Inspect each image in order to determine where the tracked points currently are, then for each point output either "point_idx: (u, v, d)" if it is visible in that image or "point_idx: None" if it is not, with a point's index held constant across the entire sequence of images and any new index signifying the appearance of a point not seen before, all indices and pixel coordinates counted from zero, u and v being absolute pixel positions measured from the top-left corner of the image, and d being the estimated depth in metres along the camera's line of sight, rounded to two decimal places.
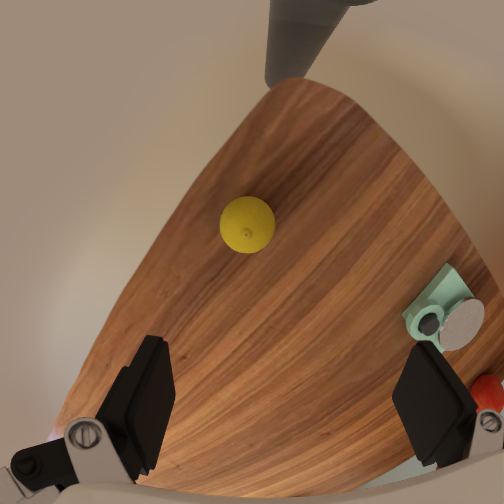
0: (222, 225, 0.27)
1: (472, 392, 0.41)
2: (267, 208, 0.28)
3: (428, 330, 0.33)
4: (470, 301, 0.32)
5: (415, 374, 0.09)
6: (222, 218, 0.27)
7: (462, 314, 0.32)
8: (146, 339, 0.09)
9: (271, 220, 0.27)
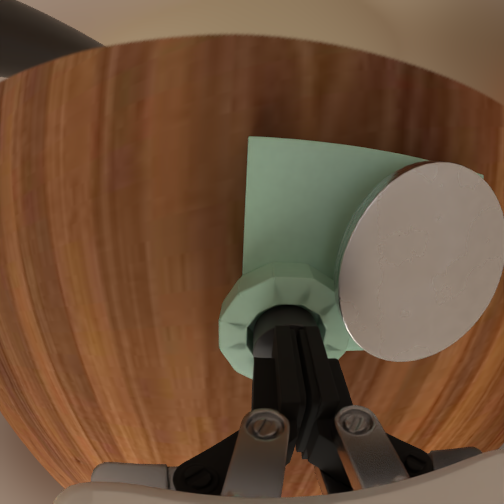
0: None
1: None
2: None
3: None
4: (397, 187, 0.09)
5: None
6: None
7: (400, 248, 0.10)
8: (278, 328, 0.10)
9: None
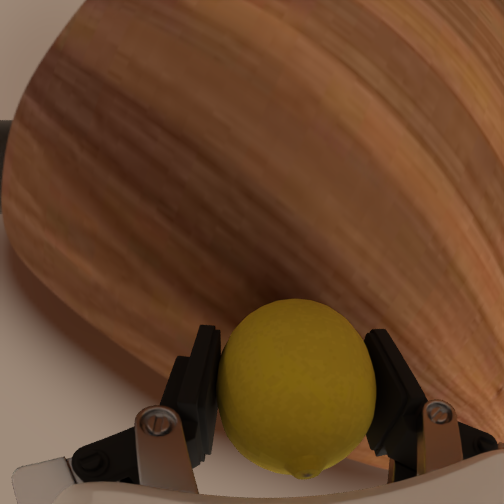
0: None
1: None
2: (242, 358, 0.08)
3: None
4: None
5: None
6: None
7: None
8: (201, 328, 0.10)
9: (277, 367, 0.07)
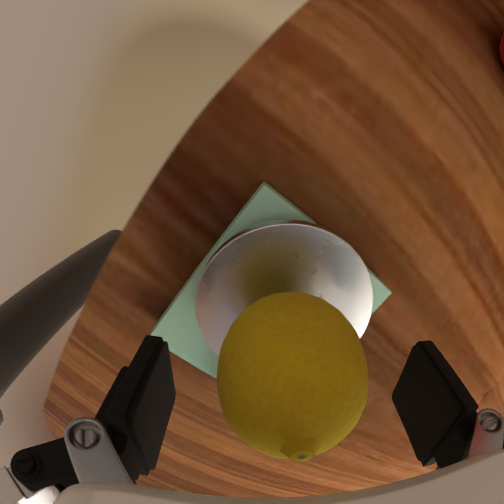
0: None
1: None
2: (241, 345, 0.09)
3: None
4: (201, 316, 0.14)
5: (415, 374, 0.09)
6: None
7: None
8: (146, 339, 0.09)
9: (273, 353, 0.08)
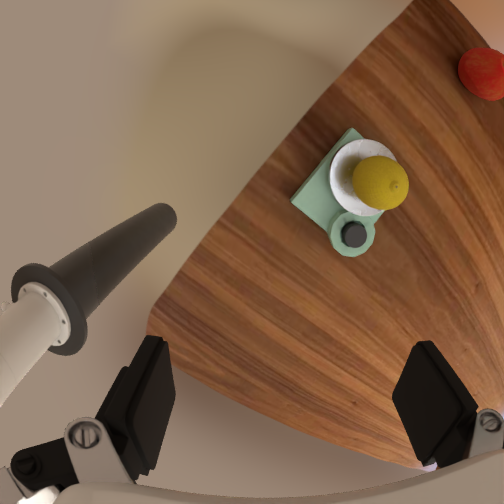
0: (382, 207, 0.25)
1: None
2: (368, 162, 0.25)
3: (359, 240, 0.33)
4: (332, 177, 0.31)
5: (415, 374, 0.09)
6: (375, 206, 0.26)
7: (349, 186, 0.31)
8: (146, 339, 0.09)
9: (380, 159, 0.24)
